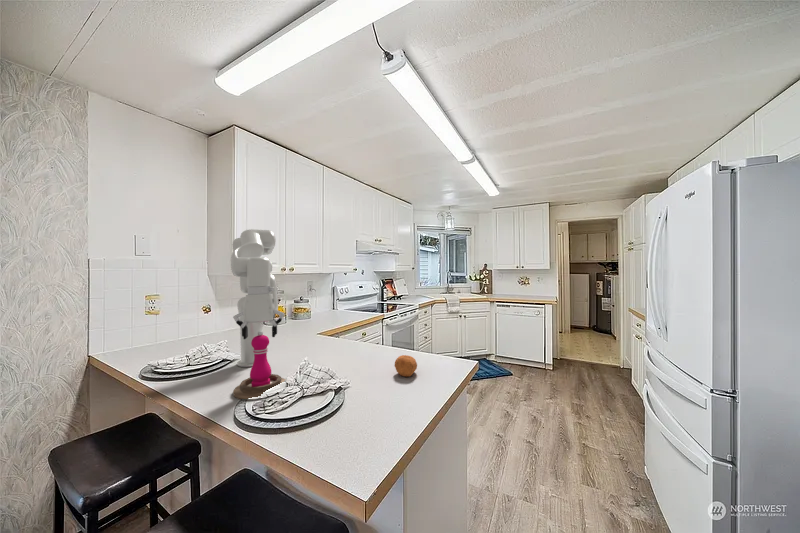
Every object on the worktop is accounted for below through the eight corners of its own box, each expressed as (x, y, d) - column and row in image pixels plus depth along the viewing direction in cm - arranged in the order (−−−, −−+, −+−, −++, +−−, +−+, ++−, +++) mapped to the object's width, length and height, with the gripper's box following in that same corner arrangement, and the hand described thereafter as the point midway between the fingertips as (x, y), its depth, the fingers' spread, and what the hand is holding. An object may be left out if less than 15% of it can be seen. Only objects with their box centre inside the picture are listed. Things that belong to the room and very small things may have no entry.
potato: (390, 377, 120) (389, 358, 120) (400, 368, 130) (400, 350, 130) (412, 380, 116) (411, 360, 116) (420, 370, 127) (420, 352, 127)
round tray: (241, 382, 117) (241, 374, 117) (290, 377, 121) (290, 370, 121) (226, 403, 100) (225, 393, 100) (283, 396, 104) (283, 387, 104)
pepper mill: (263, 389, 106) (262, 333, 106) (245, 388, 108) (244, 332, 108) (275, 382, 113) (274, 329, 114) (258, 381, 115) (258, 328, 115)
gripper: (285, 289, 116) (286, 333, 117) (236, 290, 112) (237, 336, 113) (282, 291, 109) (283, 338, 109) (229, 292, 105) (230, 341, 105)
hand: (259, 337), depth 111 cm, fingers open, 9 cm apart
